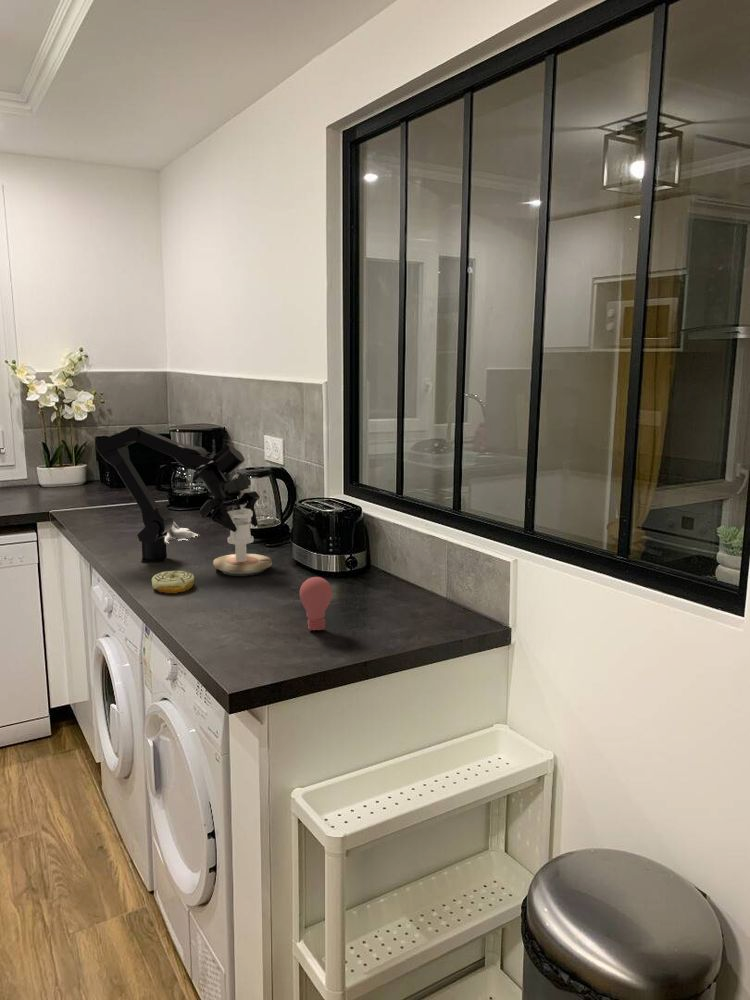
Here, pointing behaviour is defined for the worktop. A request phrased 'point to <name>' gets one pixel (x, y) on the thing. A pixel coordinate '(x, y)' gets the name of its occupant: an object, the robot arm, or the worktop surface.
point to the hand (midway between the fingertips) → (246, 528)
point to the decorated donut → (173, 581)
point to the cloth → (179, 533)
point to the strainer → (241, 532)
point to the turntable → (242, 563)
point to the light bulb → (315, 601)
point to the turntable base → (242, 573)
